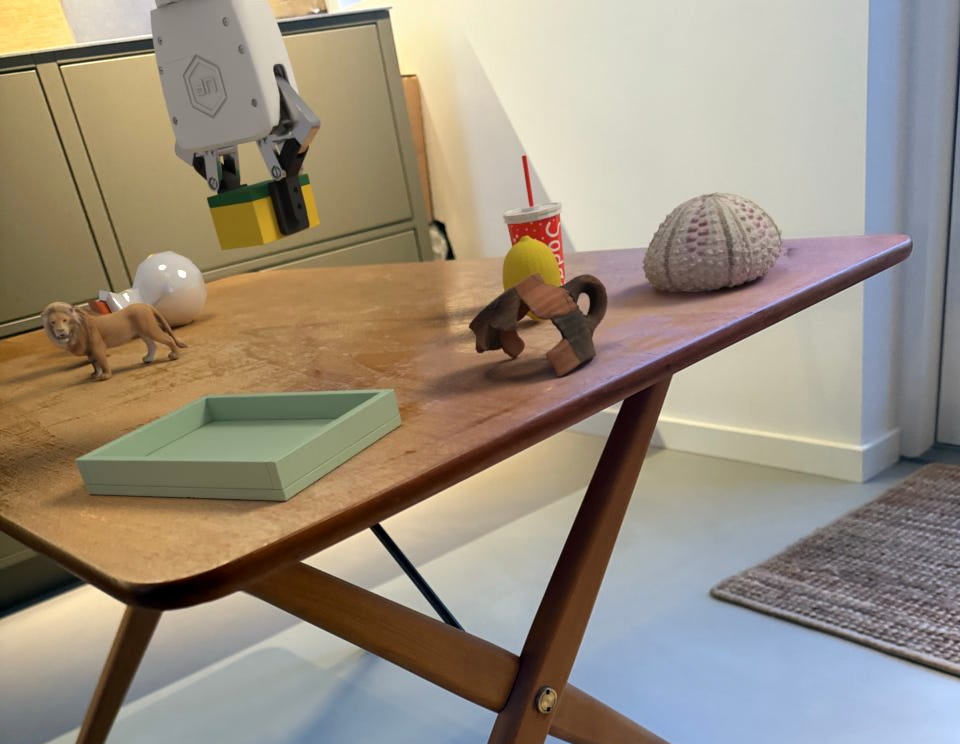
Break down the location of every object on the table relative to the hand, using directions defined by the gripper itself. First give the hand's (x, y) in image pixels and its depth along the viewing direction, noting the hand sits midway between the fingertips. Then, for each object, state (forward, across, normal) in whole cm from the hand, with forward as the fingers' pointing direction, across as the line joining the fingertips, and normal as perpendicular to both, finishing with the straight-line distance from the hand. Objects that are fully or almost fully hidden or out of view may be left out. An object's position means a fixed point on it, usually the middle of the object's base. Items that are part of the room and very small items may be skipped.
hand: (270, 232), depth 84 cm
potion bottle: (+14, -49, +30) cm, 60 cm away
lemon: (+14, +12, +22) cm, 28 cm away
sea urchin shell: (+14, +26, +33) cm, 44 cm away
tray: (+14, +4, -14) cm, 21 cm away
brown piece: (+14, +20, +8) cm, 25 cm away
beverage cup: (+14, +8, +32) cm, 35 cm away
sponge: (0, 0, 0) cm, 0 cm away
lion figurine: (+14, -36, +11) cm, 41 cm away
